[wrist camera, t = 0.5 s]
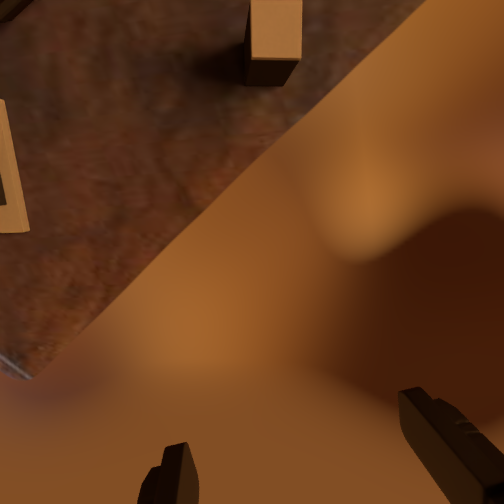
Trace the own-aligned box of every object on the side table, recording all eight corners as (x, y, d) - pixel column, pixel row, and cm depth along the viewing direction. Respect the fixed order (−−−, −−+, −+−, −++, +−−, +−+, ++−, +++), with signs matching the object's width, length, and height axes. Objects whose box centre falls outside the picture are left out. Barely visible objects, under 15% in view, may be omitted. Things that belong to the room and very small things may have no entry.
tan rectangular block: (243, 41, 32) (250, -3, 25) (283, 42, 33) (302, -1, 25) (244, 86, 33) (251, 57, 26) (283, 86, 34) (301, 58, 26)
